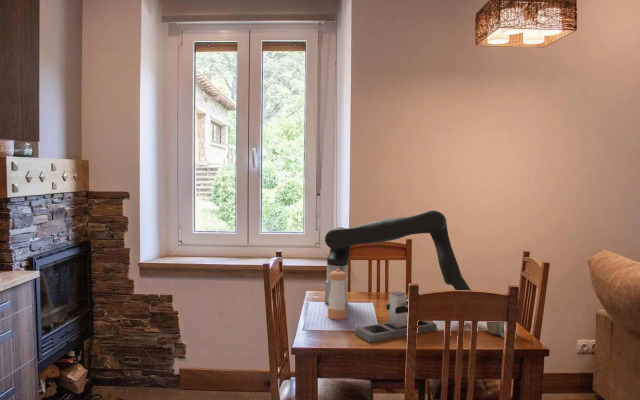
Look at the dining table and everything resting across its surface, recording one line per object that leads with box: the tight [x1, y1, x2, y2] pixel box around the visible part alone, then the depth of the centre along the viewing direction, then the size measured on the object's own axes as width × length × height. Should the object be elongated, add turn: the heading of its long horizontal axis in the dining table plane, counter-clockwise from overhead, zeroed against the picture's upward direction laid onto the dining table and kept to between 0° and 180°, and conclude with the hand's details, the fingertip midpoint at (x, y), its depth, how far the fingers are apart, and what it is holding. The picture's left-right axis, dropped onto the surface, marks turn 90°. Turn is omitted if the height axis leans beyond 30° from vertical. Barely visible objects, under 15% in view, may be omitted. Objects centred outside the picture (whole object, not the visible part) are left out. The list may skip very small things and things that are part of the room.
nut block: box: [387, 290, 408, 330], centre depth 173 cm, size 4×4×13 cm
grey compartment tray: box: [354, 318, 438, 344], centre depth 174 cm, size 30×9×2 cm, turn 119°
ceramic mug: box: [486, 321, 518, 339], centre depth 173 cm, size 11×8×8 cm
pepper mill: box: [327, 269, 347, 320], centre depth 190 cm, size 7×7×19 cm
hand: (391, 308), depth 172 cm, fingers closed on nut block, 4 cm apart
